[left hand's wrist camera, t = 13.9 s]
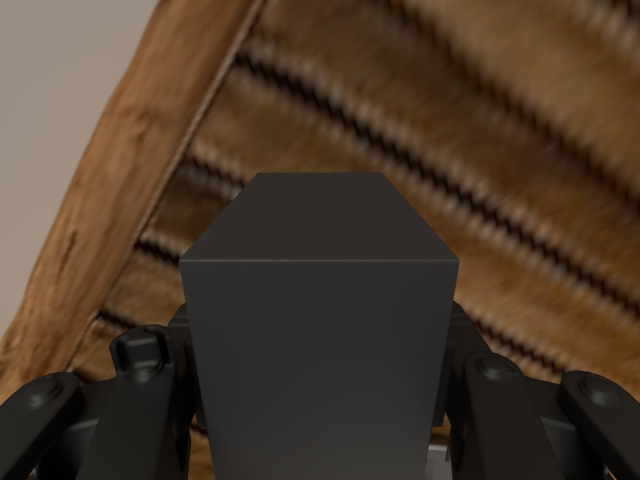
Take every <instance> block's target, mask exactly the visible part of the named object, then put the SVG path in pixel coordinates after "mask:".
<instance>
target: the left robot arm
mask: <svg viewBox="0 0 640 480" xmlns="http://www.w3.org/2000/svg"><path fill="white" fill-rule="evenodd" d="M109 349H110V352H111V356H112V359H113V363H114V366H115V370H116V374H117V375H116V377H115V378H112V379H108V380H104V381H100V382H95V383H91V384H86V385H82V386H81V385H80V382H79V379H78V377H77V376H76V375H74V374H73V373H69V372H57V373H51V374H48V375H45V376H42V377H39V378H37V379H35V380H33V381H31V382H29V383H27V384H25V385H24V386H22V387H21V388H20V389H18V390H17V391H16V392H15V393H13V394H12V395H11V396H10V397H9V398H8V399H7V400H6V401H5V402H4V403H3V404H2V405H1V406H0V480H26V478H27V477H28V476H29V474H30V473H31V472H33V473H32V475H31V476H30V477H29V479H28V480H188V470H189V460H190V449H191V436H190V430H189V426H190V424H191V421H192V419H193V416H194V414H195V413H196V418H197V424H198V427H207V426H206V420H205V414H204V408H203V403H202V397H201V391H200V385H199V379H198V373H197V367H196V361H195V355H194V349H193V343H192V337H191V331H190V325H189V319H188V313H187V307H186V303H184V304H183V305H181V306H180V307H179V309H178V310H177V312H176V313H175V315H174V317H173V318H172V319H171V321H170V322H169V323H168V326H166V327H165V326H161V325H157V324H155V325H143V326H139V327H135V328H132V329H130V330H128V331H126V332H123V333H122V334H121V335H119V336H118V337H116V338H115V339H114V340H113V341H112V343H111V344H110V345H109ZM445 412H446V414H447V417H448V419H449V421H450V424H451V430H450V435H449V437H446V436H441V435H431V437H430V443H429V449H428V456H427V462H426V468H425V474H424V480H614V479H613V478H612V476H611V475H610V474H609V472H608V471H609V470H610V471H611V473H612V474H613V475H614V477H615V478H616V479H617V480H640V403H639V402H638V401H637V400H635V399H634V398H633V397H632V396H631V395H630V394H629V393H628V392H627V391H626V390H624V389H623V388H622V387H620V386H619V385H618V384H617V383H615V382H613V381H611V380H609V379H607V378H605V377H603V376H600V375H598V374H594V373H591V372H587V371H579V370H576V371H569V372H567V373H566V374H565V375H563V377H562V380H561V383H560V384H556V383H551V382H547V381H542V380H538V379H534V378H530V377H527V376H524V375H523V373H522V371H521V370H520V368H519V367H518V366H517V365H516V364H515V363H513V362H512V361H511V360H510V359H508V358H506V357H504V356H502V355H500V354H497V353H493V352H492V351H491V349H490V348H489V346H488V345H487V343H486V342H485V340H484V339H483V338H482V336H481V335H480V333H479V332H478V330H477V329H476V327H475V326H474V325H473V323H472V322H471V320H470V319H469V317H467V314H466V313H465V311H464V310H463V309H462V307H461V306H460V305H459V304H458V303H456V302H455V301H453V304H452V310H451V317H450V323H449V329H448V335H447V341H446V347H445V353H444V359H443V365H442V371H441V377H440V383H439V389H438V395H437V401H436V407H435V413H434V419H433V425H432V427H442V425H443V420H444V414H445Z"/></svg>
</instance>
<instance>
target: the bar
mask: <svg viewBox="0 0 640 480" xmlns="http://www.w3.org/2000/svg"><path fill="white" fill-rule="evenodd" d="M459 262H460V261H459V259H458V258H457V257H456V256H455V254H454V253H453V252H452V251H451V250H450V249H449V248H448V247H447V245H446V244H445V243H444V242H443V241H442V240H441V239H440V238H439V236H438V235H437V234H436V233H435V232H434V231H433V230H432V229H431V227H430V226H429V225H428V224H427V223H426V222H425V221H424V220H423V218H422V217H421V216H420V215H419V214H418V213H417V212H416V211H415V209H414V208H413V207H412V206H411V205H410V204H409V203H408V202H407V201H406V199H405V198H404V197H403V196H402V195H401V194H400V193H399V192H398V190H397V189H396V188H395V187H394V186H393V185H392V184H391V183H390V181H389V180H388V179H387V178H386V177H385V176H384V175H383V174H382V173H257V174H256V175H255V177H254V178H253V179H252V180H251V181H250V182H249V183H248V184H247V185H246V186H245V188H244V189H243V190H242V191H241V192H240V193H239V194H238V195H237V196H236V198H235V199H234V200H233V201H232V202H231V203H230V204H229V205H228V206H227V207H226V209H225V210H224V211H223V212H222V213H221V214H220V215H219V216H218V217H217V218H216V220H215V221H214V222H213V223H212V224H211V225H210V226H209V227H208V228H207V230H206V231H205V232H204V233H203V234H202V235H201V236H200V237H199V238H198V239H197V241H196V242H195V243H194V244H193V245H192V246H191V247H190V248H189V249H188V250H187V252H186V253H185V254H184V255H183V256H182V257H181V258H180V259H179V265H180V271H181V277H182V283H183V289H184V295H185V301H186V307H187V313H188V319H189V325H190V331H191V337H192V343H193V349H194V355H195V361H196V367H197V373H198V379H199V385H200V391H201V397H202V403H203V408H204V414H205V420H206V426H207V432H208V438H209V444H210V450H211V456H212V462H213V468H214V474H215V480H424V474H425V468H426V462H427V456H428V449H429V443H430V437H431V431H432V425H433V419H434V413H435V407H436V401H437V395H438V389H439V383H440V377H441V371H442V365H443V359H444V353H445V347H446V341H447V335H448V329H449V323H450V317H451V310H452V304H453V298H454V292H455V286H456V280H457V274H458V268H459Z"/></svg>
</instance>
